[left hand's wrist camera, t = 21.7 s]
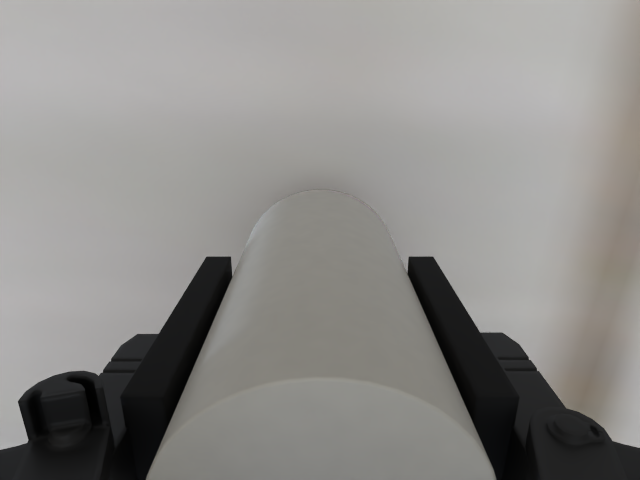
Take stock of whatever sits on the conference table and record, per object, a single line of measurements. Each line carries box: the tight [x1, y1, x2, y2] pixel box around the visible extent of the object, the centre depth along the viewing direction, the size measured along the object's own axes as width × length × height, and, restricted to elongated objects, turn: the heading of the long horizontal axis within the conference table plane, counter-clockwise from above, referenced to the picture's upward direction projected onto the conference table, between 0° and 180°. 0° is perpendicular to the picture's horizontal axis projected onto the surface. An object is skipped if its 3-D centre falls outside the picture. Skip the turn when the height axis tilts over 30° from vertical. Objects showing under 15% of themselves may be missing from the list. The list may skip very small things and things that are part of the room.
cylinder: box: [146, 189, 497, 480], centre depth 12 cm, size 6×6×11 cm
